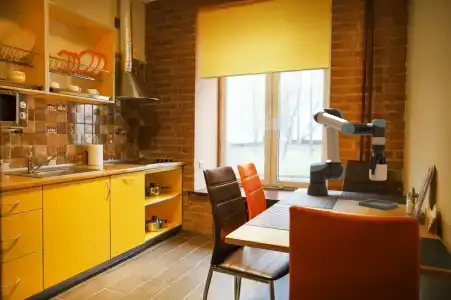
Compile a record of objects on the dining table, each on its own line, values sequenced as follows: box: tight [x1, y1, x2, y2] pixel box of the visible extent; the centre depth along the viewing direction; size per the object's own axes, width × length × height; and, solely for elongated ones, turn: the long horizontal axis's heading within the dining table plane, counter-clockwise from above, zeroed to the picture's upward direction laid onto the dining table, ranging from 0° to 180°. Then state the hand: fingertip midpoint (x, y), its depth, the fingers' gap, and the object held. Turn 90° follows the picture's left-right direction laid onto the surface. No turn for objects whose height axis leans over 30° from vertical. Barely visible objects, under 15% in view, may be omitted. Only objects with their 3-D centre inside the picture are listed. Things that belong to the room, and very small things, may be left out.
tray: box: [358, 198, 399, 211], centre depth 206 cm, size 17×17×2 cm
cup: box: [368, 163, 388, 182], centre depth 206 cm, size 10×10×10 cm
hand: (377, 179), depth 207 cm, fingers closed on cup, 10 cm apart
